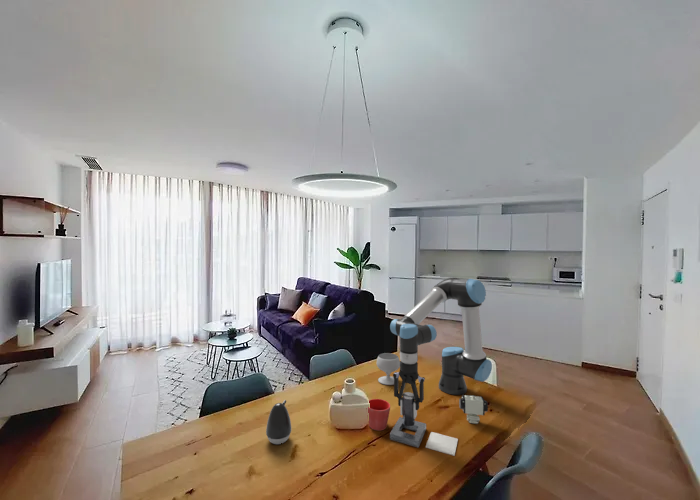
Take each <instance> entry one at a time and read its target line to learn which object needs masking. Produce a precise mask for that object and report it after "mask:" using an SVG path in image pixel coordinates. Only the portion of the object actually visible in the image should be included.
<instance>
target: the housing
mask: <svg viewBox="0 0 700 500" xmlns="http://www.w3.org/2000/svg"><path fill="white" fill-rule="evenodd" d="M403 429H406V430H410V431H413V432H415V433H414V434H413V433H412V434H411V433H409V432H406V431H403ZM426 430H427V423H425V422H421V421H417V420H415V424H414V425H413V426H406V425H404V424H403V416H402V417H401V416H400V417H399V418H398V419H397V421H396V423H395V424H394V426H393V427H392V429H391V431H390V433H389V440H390V441H394V442H398V443H400V444H404V445H408V446H412V447H415V448H420V445H421V443H422V440H423V439H424V435H425V433H426Z"/></svg>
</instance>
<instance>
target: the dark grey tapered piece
mask: <svg viewBox="0 0 700 500" xmlns="http://www.w3.org/2000/svg"><path fill="white" fill-rule="evenodd" d="M286 404H287V400H286V399H284V400H283V401H282V402H278V403H274V405H273V406H272V408H271V409H270V412H269V414H268V418H267V423H266V428H265V429H266V430H265V431H266V432H265V434H266V437H267V440H268V441H269V442H270V443H271V444H273V445H281V443H282V444H284V443H286V441H288V439H290V435H291V433H292V422H291V417H290V414H289V410H288V409H287V407H286Z"/></svg>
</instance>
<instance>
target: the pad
mask: <svg viewBox="0 0 700 500" xmlns="http://www.w3.org/2000/svg"><path fill="white" fill-rule="evenodd" d="M427 439H428V440H427V441H426V445H425V448H426V449H429V450H433V451H436V452H440V453H443V454H446V455H450V456H454V457H455V455H456V452H457V451H456V450H457V445H458V441H459V439H458V438H457V437H453V436H448V435H446V434H445V435H444V434H441V433H439V432H433V431H431V432H430V434H429V437H428V438H427Z"/></svg>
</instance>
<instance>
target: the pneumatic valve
mask: <svg viewBox="0 0 700 500" xmlns="http://www.w3.org/2000/svg"><path fill="white" fill-rule="evenodd" d="M458 404H459V405H458V406H459V409H460V410H462V411H463V412H462V413H463V414H466V421H468V424H469V423H470V424H475V425H478V424H479V422H480V421H481V420H480V418H481V417H480V416H485V414H486V413H487V412H488V411H489V404H488V401H487V400H485V399H484V398H483V396H478V395H477V396H476V395H471V394H470V395H466V394H465V395H464V394H461V398H459V402H458Z"/></svg>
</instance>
